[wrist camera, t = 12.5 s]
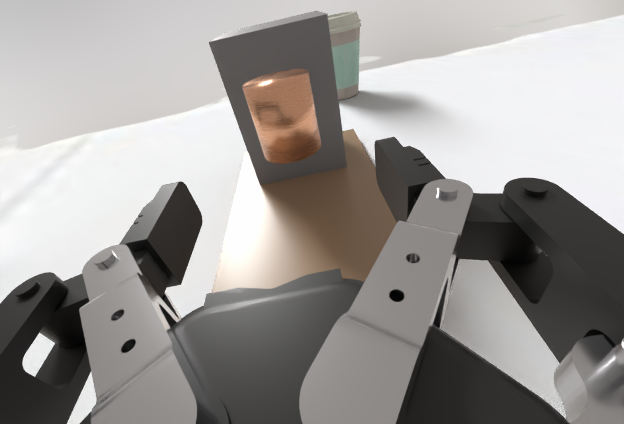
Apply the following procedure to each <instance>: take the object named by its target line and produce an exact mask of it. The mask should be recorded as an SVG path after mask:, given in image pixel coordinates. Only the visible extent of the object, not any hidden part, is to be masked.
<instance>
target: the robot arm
mask: <svg viewBox="0 0 624 424" xmlns="http://www.w3.org/2000/svg"><path fill="white" fill-rule="evenodd" d="M375 163H376V178H377V183H378V187H379V189H380V191H381V193H382V195H383V197H384V199H385V201H386V203H387V205H388V207H389V209H390V210H391V212H392V214H393V216H394V218H395V220H396V222H397V224H396V225H395V227H394V229H393V231H392V233H391V235H390V236H389V238H388V240H387V242H386V244H385V245H384V247H383V249H382V251H381V253H380V255H379V256H378V258H377V260H376V262H375V264H374V266H373V267H372V269H371V271H370V273H369V275H368V277H367V278H366V280H365V282H364V281H360V280H355V279H346V278H342V275H341V271H340V268H339V269H333V270H328V271H323V272H318V273H313V274H307V275H305V276H302V277H300V278H297V279H295V280H293V281H290V282H288V283H285V284H283V285H281V286H278V287H276V288H272V289H263V288H235V289H230V290H225V291H219V292H214V293H209V294H207V295H206V299H205V303H204V306H202V307H200V308H198V309H196V310H194V311H192V312H191V313H189V314H187V315H186V316H185V317H183V318H181V316H180V315H179V313H178V311H177V310H176V308H175V306H174V305H173V303H172V301H171V299H170V298H169V296H168V295H167V294H166V293H165V290H166V288H167V287H171V286H176V285H181V283H182V280H183V277H184V274H185V271H186V269H187V266H188V263H189V260H190V257H191V254H192V251H193V249H194V246H195V243H196V240H197V237H198V234H199V232H200V229H201V226H202V215H201V212H200V210H199V208H198V206H197V205H196V203H195V201H194V199H193V197H192V195H191V193H190V192H189V190H188V188H187V186H186V185H185V184H184V183H183V182H176V183H171V184H167V185H163V186H162V187H161V188H160V190H159V191H158V193H157V194H156V196H155V197H154V199H153V200H152V201H151V202H150V203H148V204H147V205H146V206H145V207H144V208H143V209H142V211H141V212H140V214H139V215H138V218H136V220H135V221H134V225H132V226H131V227H130V229H129V231H128V232H127V234H126V235H125V237H124V238H123V240H122V241H121V243H120V244H119V245H115V246H111V247H109V248H106V249H104V250H102V251H101V252H99V253H97V254H96V255H95V256H93V257H92V258H91V259H90V260H89V261H88V262H87V263H86V265H85V266H84V268H83V271H82V274H80V275H78V276H75V277H73V278H70V279H68V280H66V281H62V280H61V279H60V278H59V277H57V276H56V275H55V274H54V273H50V272H49V273H43V274H39V275H37V276H34V277H32V278H30V279H28V280H27V281H25V282H23V283H22V284H20V285H19V286H18V287H16V288H15V289H14V290H13V291H12V292H11V293H10V294H9V295H8V296H7V297H6V298H5V299H4V300H3V301H2V303H1V304H0V424H67V422H68V419H69V417H70V415H71V413H72V411H73V409H74V406H75V404H76V402H77V400H78V398H79V396H80V393H81V391H82V389H83V387H84V385H85V383H86V380H87V378H88V376H89V374H90V372H92V377H93V382H94V387H95V392H96V397H97V402H96V405H95V406H94V407H93V409H92V411H91V412H90V413H89V414H88V415H87V417H86V418H85V419H84V420H83V421H82V422H81V423H80V424H624V234H623V233H621V232H620V231H618V230H617V229H616V228H614V227H613V226H612V225H610V224H609V223H608V222H606V221H605V220H604V219H602V218H601V217H600V216H598V215H597V214H596V213H594V212H593V211H592V210H590V209H589V208H588V207H586V206H585V205H584V204H582V203H581V202H580V201H578V200H577V199H576V198H574V197H573V196H572V195H570V194H569V193H568V192H566V191H565V190H564V189H562V188H561V187H559V186H558V185H556V184H554V183H552V182H549V181H546V180H542V179H537V178H518V179H514V180H511V181H509V182H508V183H507V184H506V185H505V187H504V191H503V194H479V193H473V190H472V189H471V187H470V186H468V185H467V184H465V183H463V182H461V181H457V180H452V179H446V178H445V177H444V176H443V175H442V174H441V173H440V172H439V171H438V170H437V169H436V168H435V166H434V165H433V164H431V162H430V161H429V160H428V159H427V158H426V157H425V156H424V155H423V153H422V152H421V151H420V150H417V149H415V148H413V147H411V146H407V147H403V146H402V145H401V144H400V143H399V142H398V140H397V139H396V138H395V137H391V138H386V139H382V140H377V141H375ZM545 254H546V255H547V256H546V255H545ZM460 259H473V260H488V261H489V263H490V264H491V265H492V267H493V268H494V270H495V271H496V273H497V274H498V275H499V277H500V278H501V280H502V281H503V283H504V284H505V285H506V287H507V288H508V290H509V291H510V293H511V294H512V295H513V297H514V298H515V300H516V301H517V303H518V304H519V306H520V307H521V308H522V310H523V311H524V313H525V314H526V316H527V317H528V318H529V320H530V321H531V323H532V324H533V326H534V327H535V328H536V330H537V331H538V333H539V334H540V336H541V337H542V338H543V340H544V341H545V343H546V344H547V346H548V347H549V348H550V350H551V351H552V353H553V354H554V356H555V357H556V358H557V360H558V361H559V363H560V364H559V366H558V367H557V368H556V370H555V373H554V383H555V387H556V390H557V392H558V394H559V396H560V398H561V400H562V402H563V405H564V408H565V412H566V419H565V418H564V417H563V416H562V415H561V414H560V413H559V412H558V411H557V410H555V409H554V408H553V407H552V406H551V405H550V404H548V403H547V402H546V401H544V400H543V399H542V398H540V397H539V396H538V395H536V394H535V393H533V392H532V391H530V390H529V389H527V388H526V387H525V386H523V385H522V384H520V383H519V382H517V381H516V380H514V379H513V378H511V377H510V376H508V375H507V374H505V373H504V372H503V371H501V370H500V369H498V368H497V367H495V366H494V365H492V364H491V363H489V362H488V361H486V360H485V359H483V358H482V357H481V356H479V355H478V354H476V353H475V352H473V351H472V350H470V349H469V348H467V347H466V346H464V345H463V344H461V343H460V342H459V341H457V340H456V339H454V338H453V337H451V336H450V335H448V334H447V333H445V332H444V331H442V330H441V327H442V323H443V320H444V315H445V311H446V307H447V303H448V299H449V296H450V292H451V289H452V285H453V282H454V279H455V275H456V272H457V268H458V265H459V261H460ZM39 332H40V333H41V334H42V335H44V336H45V337H47V338H48V339H50V340H51V341H53V342H54V343H55V345H54V346H53V348H52V350H51V351H50V353H49V355H48V356H47V358H46V360H45V361H44V363H43V365H42V366H41V368H40V370H39V371H38V373H37V375H36V376H35V377H34V376H32V375H30V374H28V373H27V372H25V370H24V369H23V365H22V361H23V357H24V355H25V353H26V352H27V350H28V349H29V347H30V346H31V344H32V343H33V341H34V340H35V338H36V337H37V335H38V334H39Z"/></svg>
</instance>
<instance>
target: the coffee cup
mask: <svg viewBox="0 0 624 424" xmlns="http://www.w3.org/2000/svg"><path fill="white" fill-rule="evenodd" d="M328 23H329V31H330V39H331V47H332V55H333V62H334V70H335V78H336V86H337V94H338V100H343V99H347V98H350V97H353V96H355V95H356V94H357V93H358V81H359V33H360V26H361V23H360V19H359V17H358V14H357V12H356V11H350V12H345V13H339V14H335V15H330V16H328Z"/></svg>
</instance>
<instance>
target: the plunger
mask: <svg viewBox="0 0 624 424" xmlns="http://www.w3.org/2000/svg"><path fill="white" fill-rule="evenodd" d="M242 88H243V91H244V94H245V97H246V101H247V104H248V107H249V110H250V113H251V116H252V119H253V122H254V125H255V129H256V132H257V135H258V138H259V141H260V144H261V147H262V150H263V153H264V156H265V159H266V160H267V161H269V162H272V163H278V164H284V163H292V162H297V161H300V160H303V159H306V158H308V157H310V156H312V155H313V154H315V153H316V152H317V151H318V150H319V149H320V147H321V139H320V133H319V128H318V122H317V117H316V111H315V106H314V100H313V95H312V89H311V84H310V78H309V73H308V70H305V69H290V70H284V71H278V72H274V73H270V74H266V75H263V76H260V77H257V78H255V79H253V80H250V81H248V82H247V83H245V84H244V85H243V86H242Z"/></svg>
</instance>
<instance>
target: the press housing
mask: <svg viewBox="0 0 624 424" xmlns="http://www.w3.org/2000/svg"><path fill="white" fill-rule="evenodd" d="M209 44H210V47H211V50H212V53H213V55H214V58H215V61H216V63H217V66H218V69H219V72H220V75H221V78H222V81H223V83H224V86H225V89H226V92H227V95H228V97H229V100H230V103H231V106H232V109H233V111H234V114H235V117H236V120H237V123H238V125H239V128H240V131H241V134H242V137H243V139H244V142H245V145H246V148H247V151H248V152H245V156H244V160H243V164H242V168H241V172H240V176H239V181H238V185H237V189H236V193H235V197H234V201H233V206H232V210H231V214H230V218H229V222H228V226H227V231H226V235H225V239H224V243H223V247H222V251H221V256H220V260H219V264H218V268H217V272H216V276H215V281H214V285H213V289H212V293H214V292H219V291H225V290H230V289H235V288H263V289H272V288H276V287H278V286H281V285H283V284H285V283H288V282H290V281H293V280H295V279H297V278H300V277H302V276H305V275H307V274H313V273H318V272H323V271H328V270H333V269H339V268H340V271H341V275H342V278H346V279H355V280H360V281H364V282H365V280H366V278H367V277H368V275H369V273H370V271H371V269H372V267H373V266H374V264H375V262H376V260H377V258H378V256H379V255H380V253H381V251H382V249H383V247H384V245H385V244H386V242H387V240H388V238H389V236H390V235H391V233H392V231H393V229H394V227H395V225H396V224H397V222H396V220H395V218H394V216H393V214H392V212H391V210H390V209H389V207H388V205H387V203H386V201H385V199H384V197H383V195H382V193H381V191H380V189H379V187H378V183H377V178H376V169H375V167H374V165H373V164H372V162H371V160H370V158H369V156H368V155H367V153H366V151H365V149H364V147H363V146H362V144H361V142H360V140H359V139H358V137H357V135H356V133H355V131H354V130H353V129H351V130H347V131H342V125H341V117H340V109H339V101H338V94H337V86H336V78H335V70H334V62H333V55H332V47H331V39H330V31H329V23H328V16H327V14H326V13H322V12H319V11H314V12H310V13H305V14H301V15H297V16H293V17H289V18H284V19H280V20H276V21H272V22H268V23H263V24H259V25H255V26H251V27H246V28H242V29H238V30H234V31H230V32H226V33H224V34H222V35H220V36H218V37H217V38H215V39H213V40H211V41H210V42H209ZM290 69H305V70H308V73H309V78H310V84H311V89H312V95H313V100H314V106H315V111H316V117H317V122H318V128H319V133H320V139H321V147H320V149H319V150H318V151H317V152H316V153H315V154H313V155H312V156H310V157H308V158H306V159H303V160H300V161H297V162H292V163H284V164H278V163H272V162H269V161H267V160H266V159H265V156H264V153H263V150H262V147H261V144H260V141H259V138H258V135H257V132H256V129H255V125H254V122H253V119H252V116H251V113H250V110H249V107H248V104H247V101H246V97H245V94H244V91H243V88H242V86H243V85H244V84H245V83H247V82H248V81H250V80H253V79H255V78H257V77H260V76H263V75H266V74H270V73H274V72H278V71H284V70H290Z"/></svg>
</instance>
